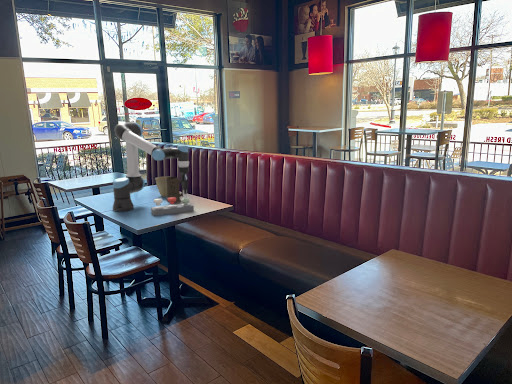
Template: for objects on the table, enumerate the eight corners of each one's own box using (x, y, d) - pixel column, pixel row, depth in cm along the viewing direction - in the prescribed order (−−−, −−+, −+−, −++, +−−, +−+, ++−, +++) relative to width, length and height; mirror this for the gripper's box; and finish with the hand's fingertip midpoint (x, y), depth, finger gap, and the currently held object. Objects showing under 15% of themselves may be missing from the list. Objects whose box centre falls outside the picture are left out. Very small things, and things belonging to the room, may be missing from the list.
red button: (168, 204, 268) (168, 199, 267) (167, 203, 274) (166, 197, 273) (177, 203, 271) (176, 198, 270) (175, 202, 276) (174, 196, 275)
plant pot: (158, 194, 336) (157, 176, 333) (174, 193, 337) (173, 176, 334) (154, 197, 322) (153, 179, 319) (172, 197, 323) (171, 179, 319)
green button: (182, 205, 273) (182, 199, 272) (180, 203, 278) (180, 198, 277) (190, 204, 275) (190, 199, 274) (188, 202, 281) (188, 197, 280)
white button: (154, 206, 264) (154, 200, 263) (153, 204, 269) (152, 199, 269) (163, 205, 267) (162, 199, 266) (161, 203, 272) (161, 198, 271)
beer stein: (166, 202, 303) (166, 178, 299) (165, 199, 313) (165, 176, 309) (185, 202, 307) (185, 178, 303) (184, 199, 317) (184, 176, 313)
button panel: (153, 215, 263) (153, 209, 262) (151, 212, 272) (150, 206, 271) (193, 210, 275) (193, 205, 274) (190, 208, 284) (189, 202, 283)
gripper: (191, 167, 267) (192, 199, 272) (186, 165, 278) (187, 195, 283) (180, 168, 264) (182, 200, 268) (176, 165, 275) (178, 196, 280)
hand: (185, 198), depth 276 cm, fingers closed
